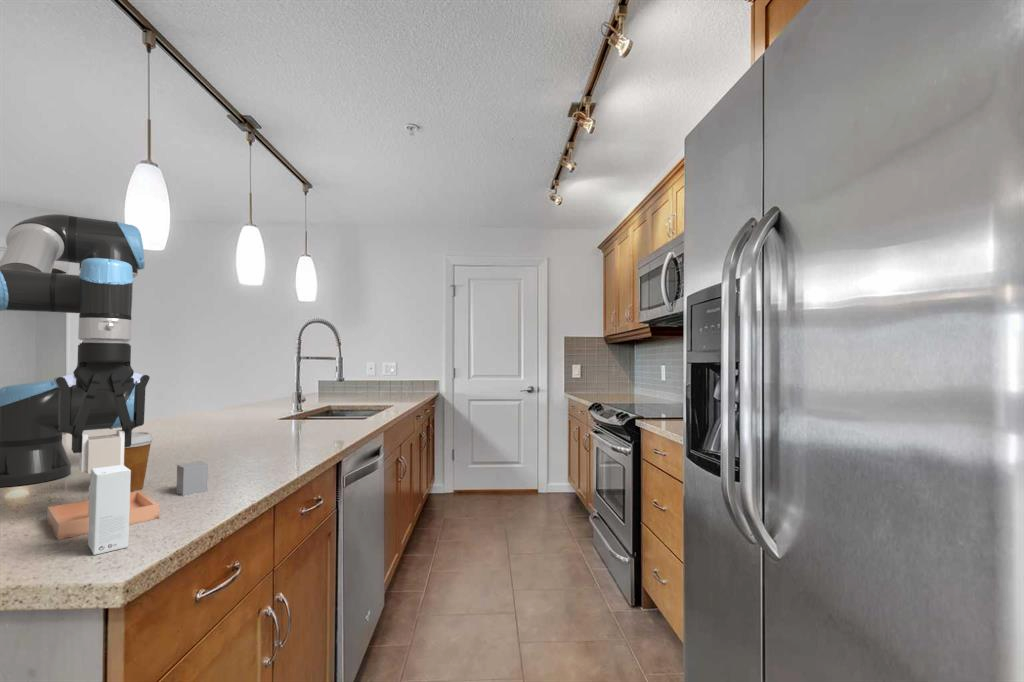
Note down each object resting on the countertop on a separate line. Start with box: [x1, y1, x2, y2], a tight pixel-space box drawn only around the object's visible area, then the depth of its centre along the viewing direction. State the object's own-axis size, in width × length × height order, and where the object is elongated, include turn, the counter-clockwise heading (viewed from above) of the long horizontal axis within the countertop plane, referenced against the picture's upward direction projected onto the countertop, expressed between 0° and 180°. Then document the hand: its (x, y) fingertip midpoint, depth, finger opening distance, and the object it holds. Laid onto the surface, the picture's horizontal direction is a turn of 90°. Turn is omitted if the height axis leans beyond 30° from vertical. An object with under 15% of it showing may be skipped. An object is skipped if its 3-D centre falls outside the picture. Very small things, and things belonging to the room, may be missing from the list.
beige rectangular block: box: [85, 433, 121, 475], centre depth 87 cm, size 4×4×6 cm
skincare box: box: [87, 465, 131, 556], centre depth 74 cm, size 6×4×12 cm
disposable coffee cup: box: [111, 431, 154, 492], centre depth 104 cm, size 10×10×12 cm
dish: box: [46, 490, 160, 541], centre depth 85 cm, size 13×13×2 cm
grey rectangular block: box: [176, 461, 209, 497], centre depth 103 cm, size 4×4×6 cm
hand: (101, 467), depth 87 cm, fingers closed on beige rectangular block, 4 cm apart
